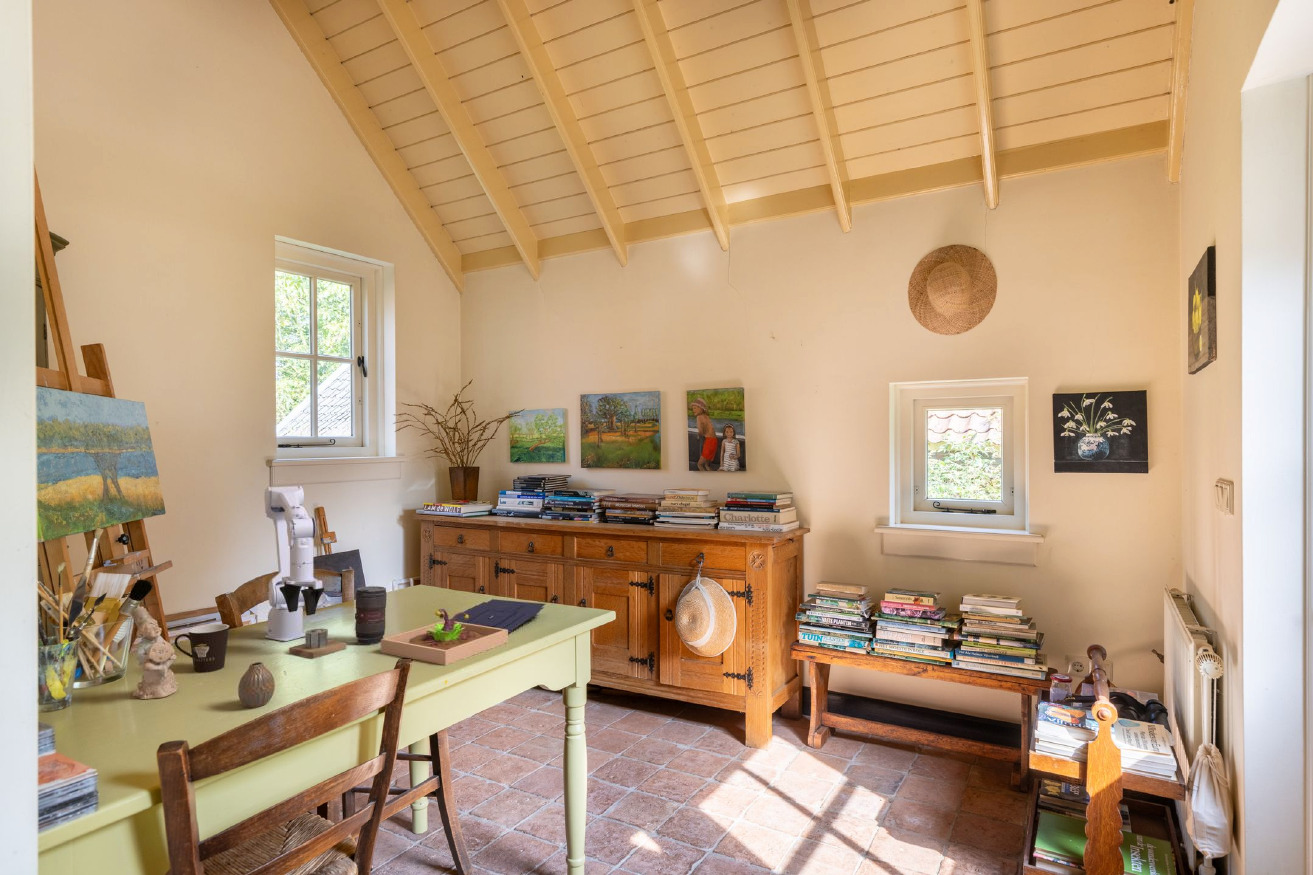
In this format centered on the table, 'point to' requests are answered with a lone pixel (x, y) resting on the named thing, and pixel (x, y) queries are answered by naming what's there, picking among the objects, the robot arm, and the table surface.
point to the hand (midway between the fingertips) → (301, 613)
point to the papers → (500, 614)
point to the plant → (446, 634)
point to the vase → (256, 686)
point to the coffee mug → (207, 647)
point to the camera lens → (370, 614)
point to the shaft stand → (317, 649)
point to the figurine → (153, 658)
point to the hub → (316, 638)
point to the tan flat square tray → (403, 648)
